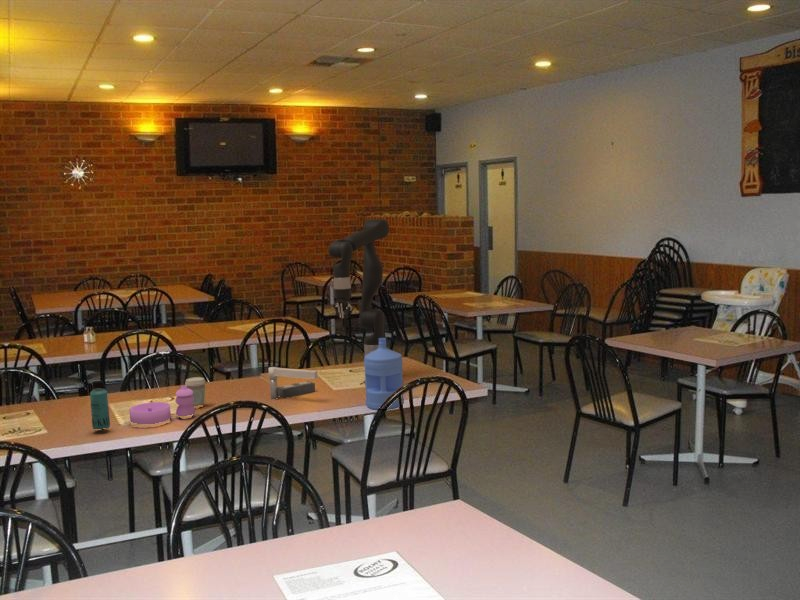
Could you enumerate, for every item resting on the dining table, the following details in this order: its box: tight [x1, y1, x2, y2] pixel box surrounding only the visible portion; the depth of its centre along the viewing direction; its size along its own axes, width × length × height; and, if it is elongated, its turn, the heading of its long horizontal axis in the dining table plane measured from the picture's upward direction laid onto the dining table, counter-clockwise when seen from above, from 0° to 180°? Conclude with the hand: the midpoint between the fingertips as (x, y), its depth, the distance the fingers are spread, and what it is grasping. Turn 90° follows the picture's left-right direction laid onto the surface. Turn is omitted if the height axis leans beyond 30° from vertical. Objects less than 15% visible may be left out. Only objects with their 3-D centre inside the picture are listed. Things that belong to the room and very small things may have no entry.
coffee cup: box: [184, 376, 207, 406], centre depth 333 cm, size 8×8×12 cm
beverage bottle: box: [89, 379, 111, 429], centre depth 301 cm, size 6×7×20 cm
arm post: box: [269, 377, 279, 400], centre depth 342 cm, size 3×3×9 cm
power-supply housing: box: [277, 380, 316, 399], centre depth 349 cm, size 16×6×4 cm, turn 129°
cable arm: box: [268, 366, 319, 380], centre depth 336 cm, size 24×4×4 cm, turn 64°
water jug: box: [363, 337, 405, 411], centre depth 323 cm, size 16×16×28 cm
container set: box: [128, 384, 196, 424], centre depth 314 cm, size 25×15×13 cm, turn 114°
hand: (344, 326), depth 348 cm, fingers closed
